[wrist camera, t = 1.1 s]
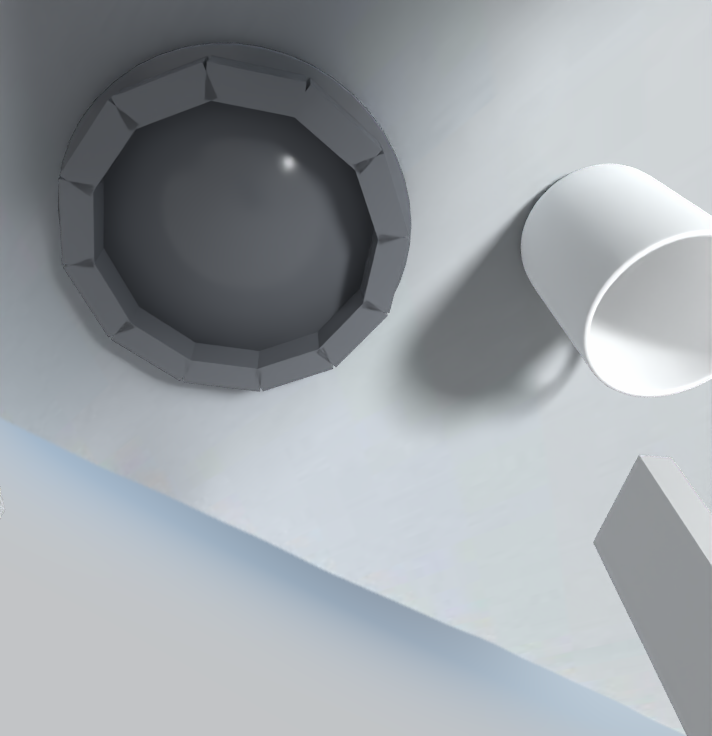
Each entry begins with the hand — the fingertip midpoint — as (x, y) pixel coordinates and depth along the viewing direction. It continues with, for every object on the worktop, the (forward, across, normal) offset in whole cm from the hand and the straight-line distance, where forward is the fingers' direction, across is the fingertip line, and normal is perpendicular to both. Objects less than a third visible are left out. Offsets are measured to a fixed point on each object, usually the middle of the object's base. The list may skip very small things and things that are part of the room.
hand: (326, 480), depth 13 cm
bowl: (+25, -3, -5) cm, 26 cm away
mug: (+25, +18, -4) cm, 31 cm away
